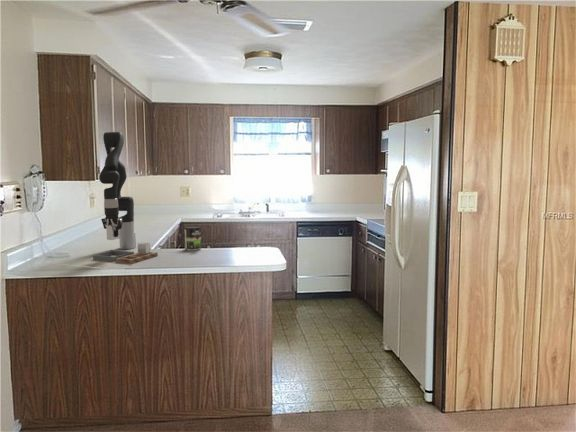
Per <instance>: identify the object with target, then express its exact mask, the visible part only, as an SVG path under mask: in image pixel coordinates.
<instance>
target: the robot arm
mask: <svg viewBox="0 0 576 432" xmlns="http://www.w3.org/2000/svg"><path fill="white" fill-rule="evenodd" d="M124 139H125V138H124V134H123V133H122V132H121V131H106V132H104V133H103V144H104V148H105V152H106V156H105V160H104V166H103V168H102V170H101V171H100V173H99V182H100V183H101V184H104V185H108V184H109V185H110V184H111V185H112V186H110V187H105V189H104V190H103V198H104V199H103V207H104V210H103V211H104V215H105V217H104V218H101V222H102V226H103V229H105V230H106V226H107V225H112V226H113V227H114V230H115V231H114V236H115V237H118V235H119V249H120V250H131V249H134V248H136V247H137V242H136V232H135V223H134V221H135V218H134V216H135V213H134V212H135V210H134V209H135V208H134V207H135V206H134V205H135V204H134V198H133V197H132V196H122V195H121V193H122V192H121V191H122V189H123V186H124V184H125V182H126V180H127V170H126V166H125V164H124V163H123V162H122V161H121V160H120V156H121V153H122V150H123V148H124V143H125V140H124ZM120 212H126V213H125V214H124V215H122V216H119V214H120ZM115 224H116V225H115ZM118 230H119V233H118Z"/></svg>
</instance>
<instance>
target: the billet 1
mask: <svg viewBox="0 0 576 432" xmlns="http://www.w3.org/2000/svg"><path fill="white" fill-rule="evenodd" d="M115 225H116V224H115ZM105 230H106V240H108V241H114V240H118V239H119V235H118V237H115V236H114V231H115V230H114V227H113V226H112V225H107V226H106V229H105ZM118 233H119V230H118Z"/></svg>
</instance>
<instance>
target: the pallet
mask: <svg viewBox="0 0 576 432" xmlns="http://www.w3.org/2000/svg"><path fill="white" fill-rule="evenodd" d="M158 255H159V253H158V252H157V251H156V252H155V251H150V254H147V255H143V254H138V252H134V254H131V255H127V256H123V257H120V258H116V262H115V263H119V264H128V265H129V264H130V266H133V264H135V263H139V262H143V261H146V260H149V259H153V258H156V257H158ZM131 264H132V265H131Z"/></svg>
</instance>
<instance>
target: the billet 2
mask: <svg viewBox="0 0 576 432" xmlns="http://www.w3.org/2000/svg"><path fill="white" fill-rule="evenodd" d="M150 252H151V243H150V242H144V241H143V242H139V243H137V253H138V254H143V255H147V254H150Z"/></svg>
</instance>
